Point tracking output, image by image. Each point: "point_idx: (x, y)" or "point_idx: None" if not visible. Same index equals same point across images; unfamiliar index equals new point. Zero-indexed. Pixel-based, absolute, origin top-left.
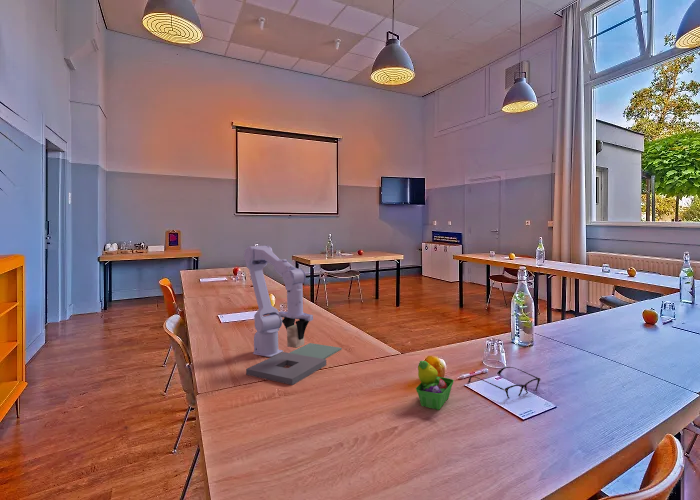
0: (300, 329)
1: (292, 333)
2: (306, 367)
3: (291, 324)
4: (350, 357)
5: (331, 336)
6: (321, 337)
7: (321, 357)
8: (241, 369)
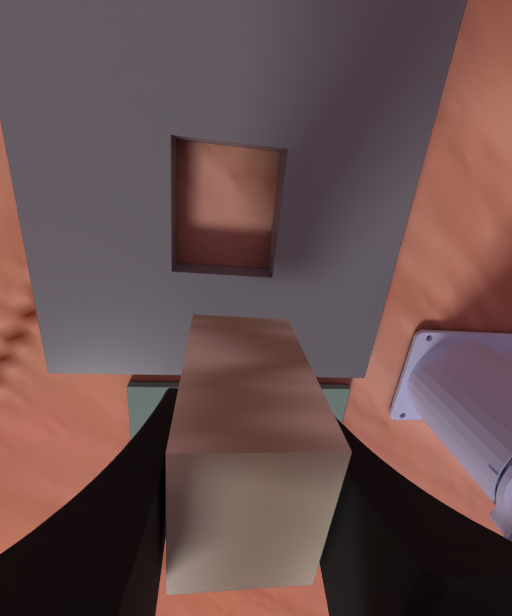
0: (97, 477)
1: (233, 396)
2: (57, 203)
3: (340, 559)
4: (27, 476)
5: (274, 606)
6: (308, 587)
7: (145, 415)
8: (505, 102)
